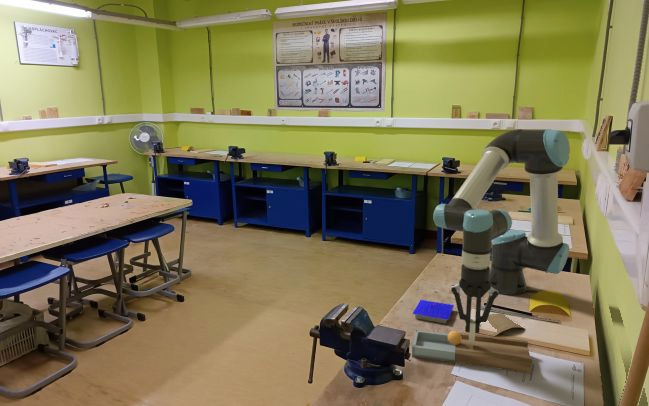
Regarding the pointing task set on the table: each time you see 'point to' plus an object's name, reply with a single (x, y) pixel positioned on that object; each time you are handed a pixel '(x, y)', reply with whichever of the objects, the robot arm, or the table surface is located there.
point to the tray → (433, 346)
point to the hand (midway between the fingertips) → (471, 341)
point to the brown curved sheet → (501, 322)
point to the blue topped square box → (433, 311)
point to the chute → (494, 353)
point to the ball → (454, 337)
